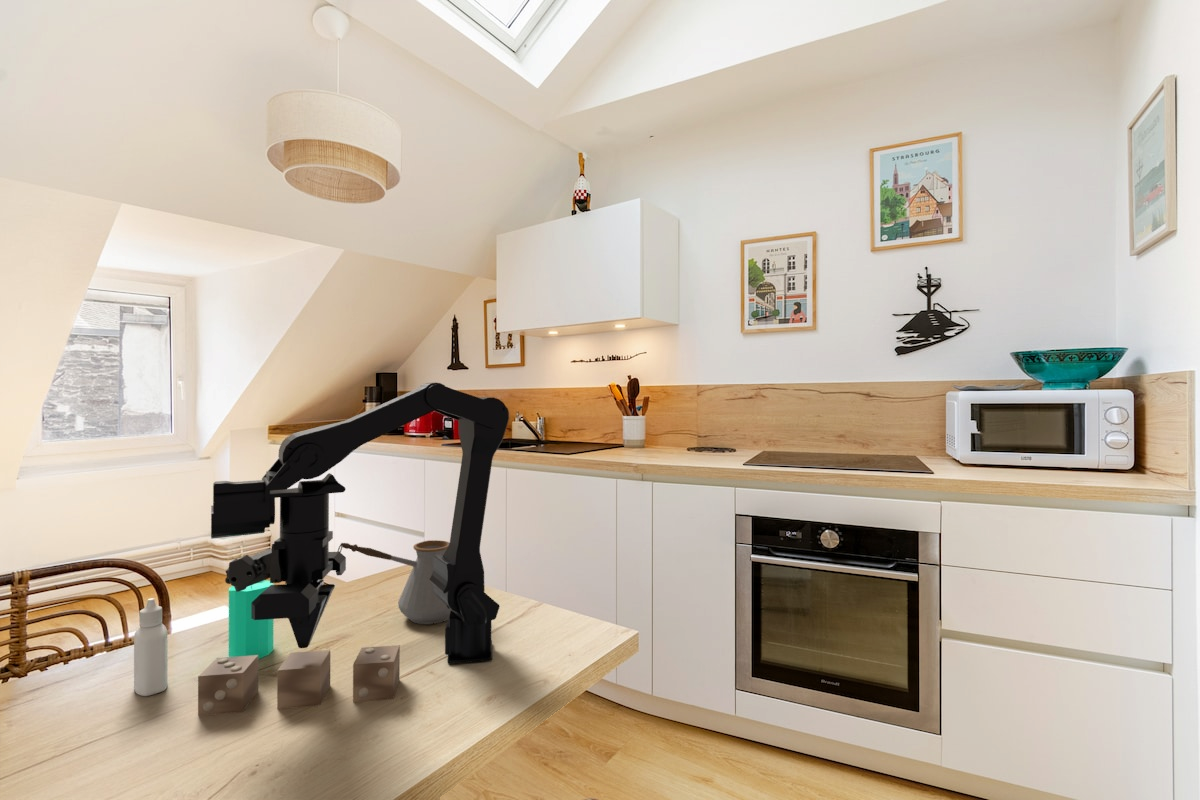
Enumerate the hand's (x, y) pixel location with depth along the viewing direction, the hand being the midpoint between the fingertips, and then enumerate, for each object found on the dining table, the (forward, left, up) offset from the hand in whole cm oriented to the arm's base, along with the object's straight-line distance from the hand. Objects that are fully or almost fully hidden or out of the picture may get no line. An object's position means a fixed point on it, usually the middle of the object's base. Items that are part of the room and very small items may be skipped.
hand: (304, 646), depth 75 cm
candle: (+12, -15, -7) cm, 20 cm away
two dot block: (-9, 0, -7) cm, 11 cm away
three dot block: (+9, 0, -7) cm, 11 cm away
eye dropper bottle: (+21, -6, -7) cm, 23 cm away
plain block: (0, 0, -7) cm, 7 cm away
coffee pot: (-9, -24, -7) cm, 27 cm away
